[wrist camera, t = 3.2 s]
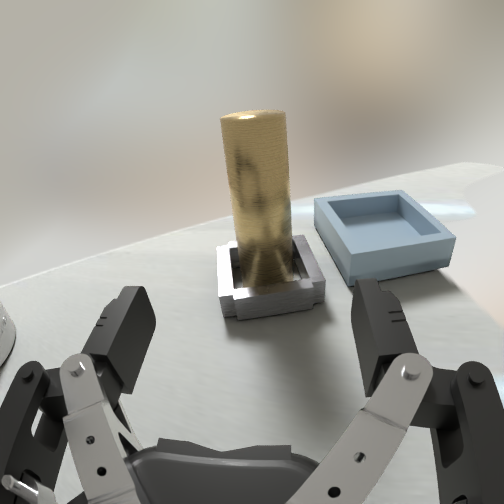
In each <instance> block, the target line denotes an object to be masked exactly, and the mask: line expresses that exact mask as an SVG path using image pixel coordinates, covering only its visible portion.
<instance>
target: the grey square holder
mask: <svg viewBox="0 0 504 504" xmlns="http://www.w3.org/2000/svg"><path fill="white" fill-rule="evenodd" d="M228 243H229V245H225V246H218V247H217V263H218V286H219V299H220V304H221V308H222V313H223V317H229V316H236V315H237V318H238V320H243V319H250V318H257V317H263V316H270V315H276V314H283V313H289V312H295V311H301V310H307V309H313V304H314V303H319V302H324V299H325V282H326V280H325V278H324V276H323V274H322V272H321V270H320V267H319V265H318V263H317V261H316V259H315V257H314V255H313V253H312V251H311V249H310V247H309V245H308V242H307V240H306V238H305V236H304V235H297V236H292V254H293V259H294V260H295V263H296V265H297V268H298V270H299V273H300V276H301V278H302V280H295V281H289V282H282V283H275V284H269V285H262V286H255V287H248V288H241V289H234V281H233V271H232V268H234V267H240V262H239V255H238V248H237V241H232V242H228Z"/></svg>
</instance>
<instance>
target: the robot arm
mask: <svg viewBox="0 0 504 504" xmlns="http://www.w3.org/2000/svg"><path fill="white" fill-rule="evenodd" d="M351 323H352V329H353V334H354V338H355V343H356V348H357V353H358V358H359V363H360V369H361V374H362V379H363V385H364V391H365V396H366V397H371V398H370V400H369V401H368V403H367V404H366V406H365V407H364V408H363V409H361V410H360V411H359V412H358V413H357V415H356V416H355V417H354V419H353V420H352V422H351V423H350V425H349V426H348V427H347V429H346V430H345V432H344V433H343V434H342V436H341V437H340V438H339V440H338V441H337V442H336V444H335V445H334V446H333V448H332V449H331V450H330V452H329V453H328V454H327V456H326V457H325V458H324V459H323V461H322V462H321V463H320V464H319V463H318V462H316V461H314V460H312V459H310V458H308V457H305V456H302V455H299V454H294V453H291V445H277V446H258V445H257V446H252V447H247V448H242V449H236V450H231V451H225V452H220V451H216V450H213V449H210V448H206V447H203V446H200V445H197V444H194V443H192V442H188V441H179V440H170V439H163V438H159V440H158V444H157V446H153V447H149V448H145V449H144V448H143V447H142V445H141V444H140V443H139V441H138V439H137V438H136V436H135V433H134V431H133V429H132V427H131V424H130V422H129V420H128V418H127V415H126V413H125V411H124V408H123V406H122V403H121V401H120V400H119V397H120V395H121V393H125V394H132V392H133V389H134V386H135V383H136V380H137V378H138V375H139V372H140V369H141V366H142V363H143V361H144V358H145V355H146V352H147V349H148V347H149V344H150V341H151V339H152V336H153V333H154V331H155V327H156V318H155V314H154V311H153V308H152V306H151V303H150V301H149V298H148V295H147V292H146V290H145V288H144V287H143V286H125V287H124V288H123V289H122V291H121V293H120V295H119V296H118V298H117V299H113V300H112V301H111V302H110V303H109V304H108V305H107V306H106V307H105V308H104V310H103V312H102V314H101V316H100V319H98V321H97V323H96V326H95V327H94V329H93V330H92V332H91V334H90V336H89V338H88V340H87V342H86V344H85V346H84V348H83V350H82V352H81V354H75V355H72V356H70V357H69V358H67V359H66V360H65V361H64V362H63V364H62V365H61V368H55V369H48V370H45V369H44V368H43V366H42V365H41V364H40V363H39V362H37V361H30V362H27V363H26V364H24V365H23V366H22V367H21V368H20V369H19V370H18V372H17V374H16V376H15V378H14V380H13V382H12V384H11V386H10V388H9V390H8V392H7V394H6V396H5V398H4V401H3V403H2V405H1V407H0V504H58V503H57V502H56V497H55V495H54V493H53V492H54V488H55V484H56V481H57V477H58V473H59V470H60V466H61V463H62V459H63V456H64V452H65V449H66V446H67V442H69V446H70V449H71V453H72V456H73V460H74V463H75V466H76V469H77V472H78V475H79V478H80V481H81V484H82V487H83V489H84V491H83V492H82V493H81V494H79V495H78V496H77V497H75V498H74V499H73V500H71V501H70V502H68V503H67V504H362V503H363V501H364V500H365V499H366V497H367V496H368V494H369V493H370V491H371V490H372V488H373V487H374V486H375V484H376V483H377V481H378V479H379V478H380V476H381V475H382V473H383V472H384V470H385V469H386V467H387V465H388V464H389V462H390V460H391V459H392V457H393V455H394V454H395V452H396V450H397V449H398V447H399V445H400V443H401V442H402V440H403V438H404V436H405V434H406V432H407V429H408V427H409V425H410V426H417V427H425V428H430V432H431V438H432V444H433V450H434V457H435V464H436V472H437V480H438V489H439V499H440V504H504V408H503V405H502V402H501V399H500V396H499V393H498V390H497V387H496V384H495V382H494V379H493V376H492V374H491V372H490V370H489V369H488V368H487V367H486V366H485V365H483V364H482V363H479V362H475V361H469V362H466V363H464V364H462V365H461V366H460V367H459V369H458V370H457V371H454V370H446V369H439V368H435V367H433V366H431V364H430V362H429V361H428V360H427V359H426V358H424V357H423V356H421V355H419V353H418V350H417V347H416V345H415V342H414V339H413V336H412V333H411V331H410V328H409V325H408V323H407V321H406V317H405V315H404V312H403V310H402V307H401V305H400V302H399V300H398V299H397V298H396V297H395V296H394V295H393V294H392V293H391V292H390V291H381V290H380V287H379V284H378V282H377V279H376V278H366V279H356V280H355V284H354V292H353V300H352V308H351ZM15 335H16V331H15V325H14V323H13V321H12V320H11V318H10V316H9V315H8V313H7V312H6V310H5V308H4V307H3V305H2V303H1V302H0V366H1V365H2V363H3V362H4V361H5V359H6V358H7V356H8V354H9V353H10V351H11V349H12V346H13V343H14V340H15ZM38 409H40V410H41V411H42V412H43V413H42V416H41V419H40V421H39V424H38V427H37V429H36V432H35V435H34V437H33V435H32V432H31V427H32V424H33V421H34V419H35V416H36V414H37V411H38Z"/></svg>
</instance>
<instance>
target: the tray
mask: <svg viewBox="0 0 504 504" xmlns="http://www.w3.org/2000/svg"><path fill="white" fill-rule="evenodd" d="M314 226H315V228H316V229H317V231H318V233H319V235H320V236H321V238H322V240H323V242H324V243H325V245H326V247H327V249H328V250H329V252H330V254H331V256H332V258H333V259H334V261H335V263H336V265H337V267H338V269H339V270H340V272H341V274H342V276H343V278H344V280H345V281H346V283H347V285H348V286H353V285H354V284H355V280H356V279H366V278H376V279H377V281H380V280H385V279H390V278H396V277H401V276H406V275H410V274H415V273H420V272H425V271H430V270H434V269H439V268H444V267H448V266H449V263H450V260H451V256H452V252H453V248H454V244H455V240H456V237H455V236H454V235H453V234H452V233H451V232H450V231H449V230H448V229H447V228H446V227H445V226H444V225H442V224H441V223H440V222H439V221H438V220H437V219H436V218H435V217H433V216H432V215H431V214H430V213H429V212H428V211H427V210H425V209H424V208H423V207H422V206H421V205H420V204H418V203H417V202H416V201H415V200H414V199H412V198H411V197H410V196H409V195H408V194H406V193H405V192H404V191H403V190H395V191H384V192H373V193H362V194H352V195H342V196H333V197H323V198H314Z"/></svg>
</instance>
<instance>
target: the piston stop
mask: <svg viewBox="0 0 504 504" xmlns="http://www.w3.org/2000/svg"><path fill="white" fill-rule="evenodd" d="M220 121H221V129H222V137H223V144H224V152H225V159H226V167H227V175H228V182H229V189H230V197H231V204H232V211H233V219H234V226H235V233H236V241H237V248H238V255H239V262H240V269H241V276H242V283H243V288H248V287H255V286H262V285H269V284H275V283H282V282H289V281H293V254H292V225H291V202H290V181H289V164H288V147H287V131H286V117H285V112H283V111H279V110H252V111H244V112H237V113H233V114H229V115H225V116H223V117H221V119H220Z"/></svg>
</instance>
